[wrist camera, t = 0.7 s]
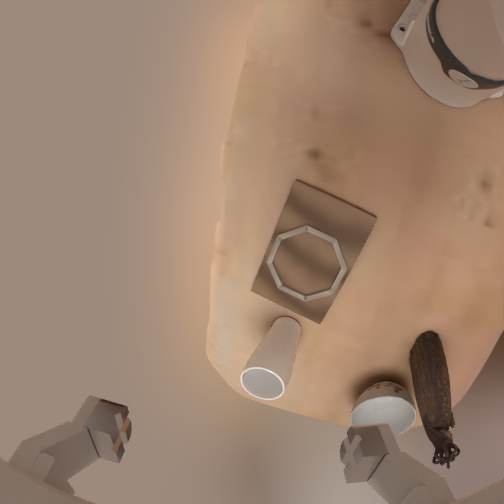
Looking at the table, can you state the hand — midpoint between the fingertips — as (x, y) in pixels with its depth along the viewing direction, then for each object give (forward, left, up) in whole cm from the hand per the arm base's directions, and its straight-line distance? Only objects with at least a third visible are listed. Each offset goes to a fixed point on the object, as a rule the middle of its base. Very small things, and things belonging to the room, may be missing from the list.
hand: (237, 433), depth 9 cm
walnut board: (+9, 0, -39) cm, 40 cm away
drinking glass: (+23, +2, -39) cm, 45 cm away
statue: (+16, +27, -39) cm, 50 cm away
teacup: (+29, +26, -39) cm, 55 cm away
